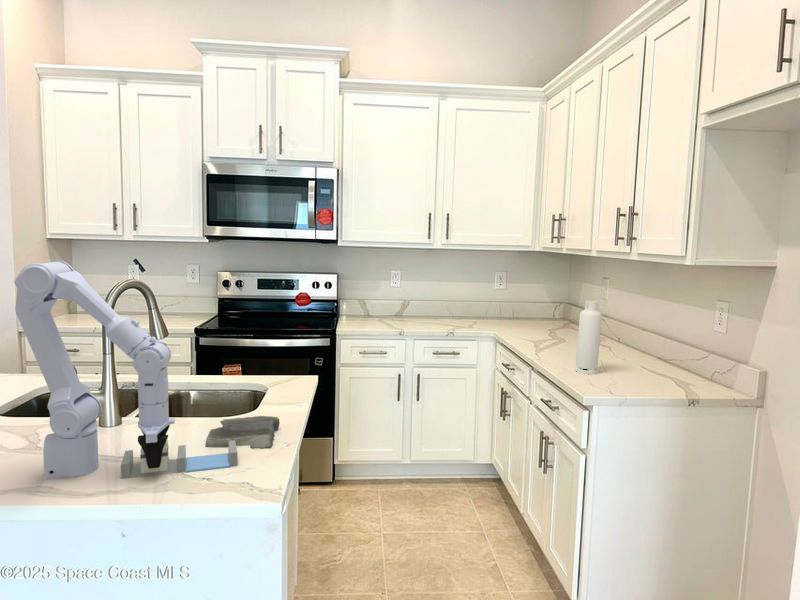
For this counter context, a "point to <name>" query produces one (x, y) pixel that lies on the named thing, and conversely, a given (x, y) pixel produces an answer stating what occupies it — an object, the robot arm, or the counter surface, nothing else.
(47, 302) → the robot arm
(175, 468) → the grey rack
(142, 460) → the block
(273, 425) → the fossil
